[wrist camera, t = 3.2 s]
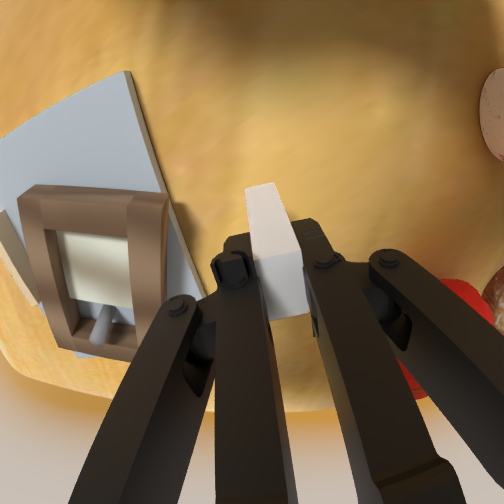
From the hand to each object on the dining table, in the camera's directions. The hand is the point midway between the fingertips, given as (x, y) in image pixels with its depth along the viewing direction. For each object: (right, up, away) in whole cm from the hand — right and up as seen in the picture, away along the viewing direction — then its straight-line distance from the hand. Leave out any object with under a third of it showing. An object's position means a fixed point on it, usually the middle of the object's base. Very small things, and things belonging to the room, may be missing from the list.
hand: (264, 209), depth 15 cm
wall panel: (-13, -2, +5) cm, 15 cm away
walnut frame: (-12, -4, +5) cm, 13 cm away
